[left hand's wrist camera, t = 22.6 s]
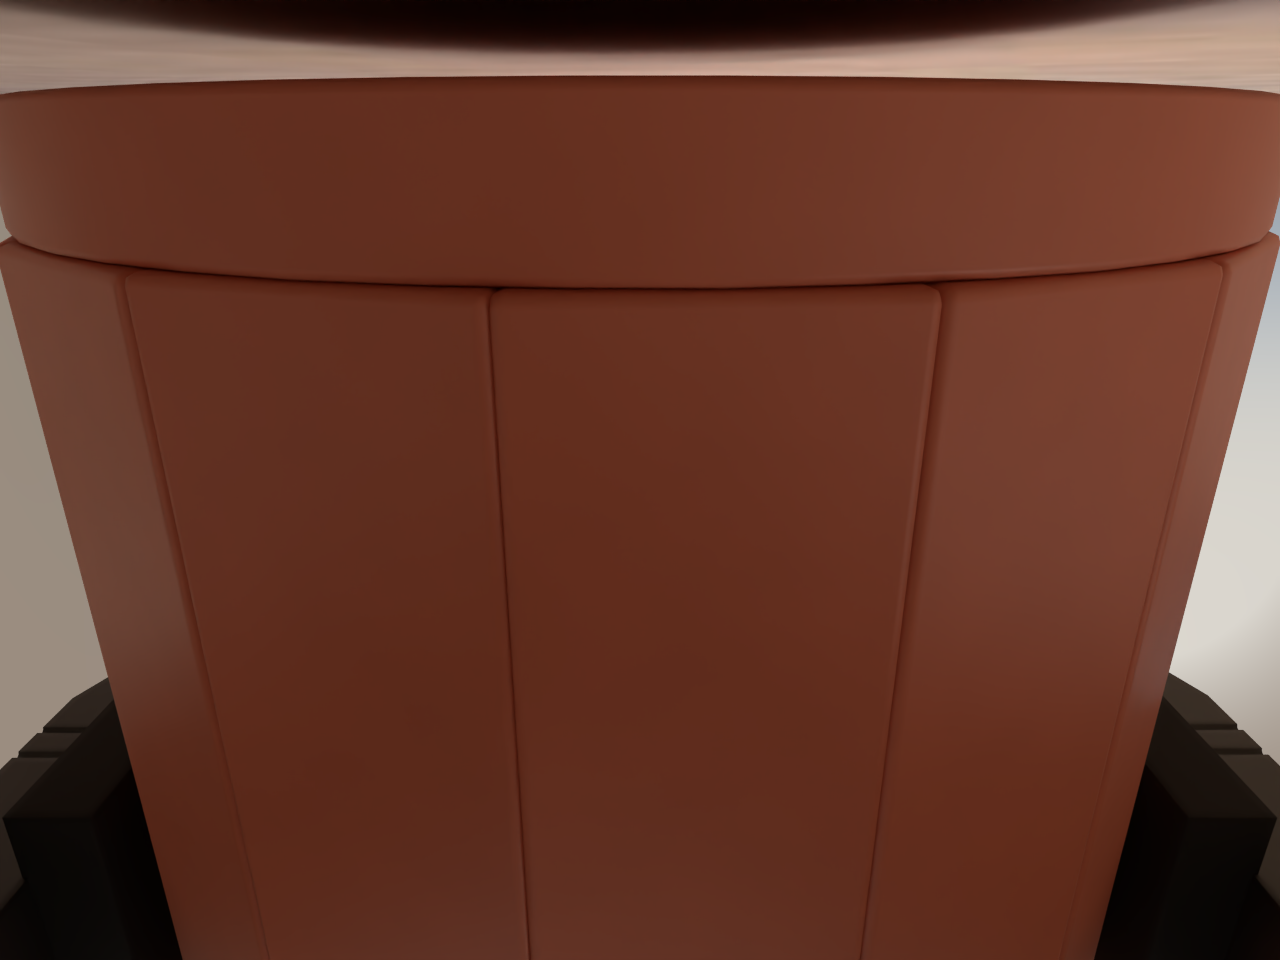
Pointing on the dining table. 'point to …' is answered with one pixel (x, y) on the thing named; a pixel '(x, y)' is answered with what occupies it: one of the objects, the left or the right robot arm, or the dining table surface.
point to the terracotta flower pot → (638, 493)
